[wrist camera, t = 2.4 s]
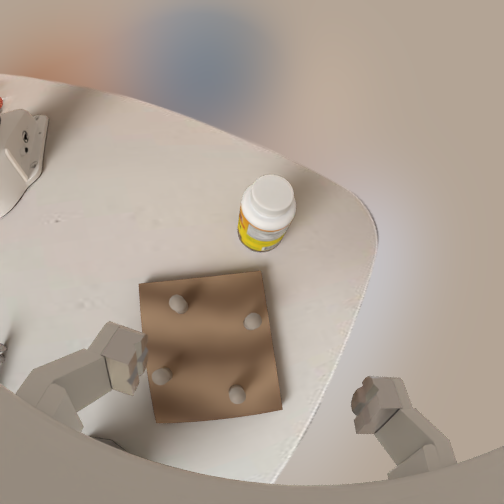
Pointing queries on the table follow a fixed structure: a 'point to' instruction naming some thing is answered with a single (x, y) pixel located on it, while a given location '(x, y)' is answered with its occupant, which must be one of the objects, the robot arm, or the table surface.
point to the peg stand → (209, 348)
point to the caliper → (0, 348)
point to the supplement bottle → (266, 213)
